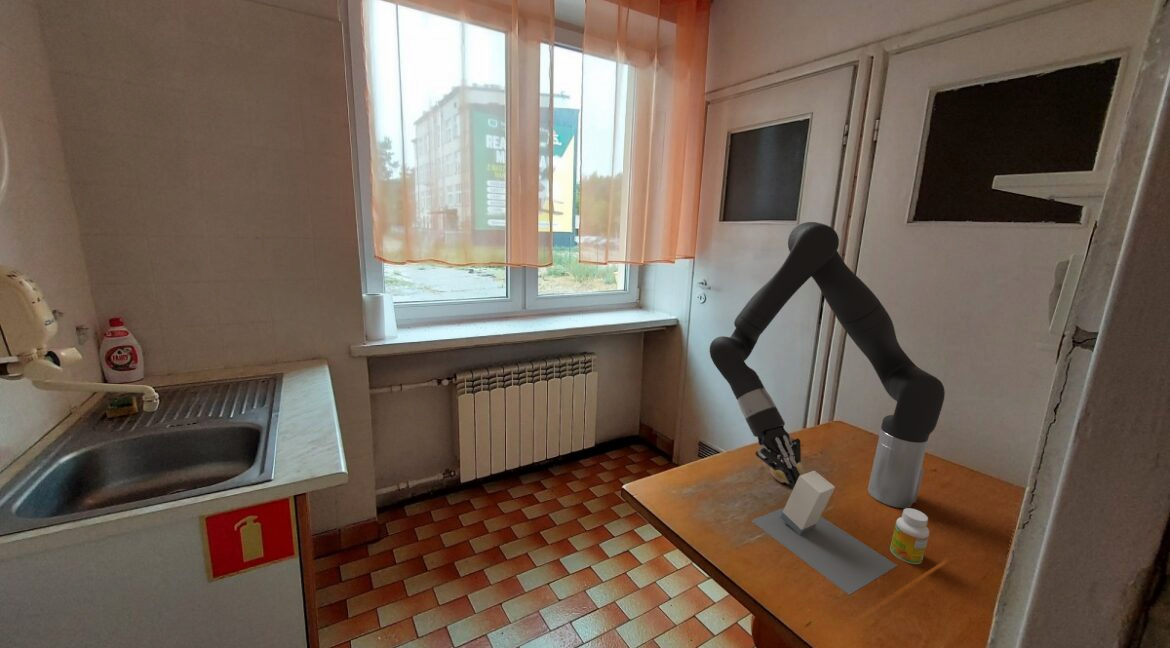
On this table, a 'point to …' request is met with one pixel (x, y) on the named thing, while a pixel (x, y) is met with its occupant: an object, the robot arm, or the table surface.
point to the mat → (829, 551)
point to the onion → (781, 476)
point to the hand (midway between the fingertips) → (798, 486)
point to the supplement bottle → (910, 536)
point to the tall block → (807, 502)
